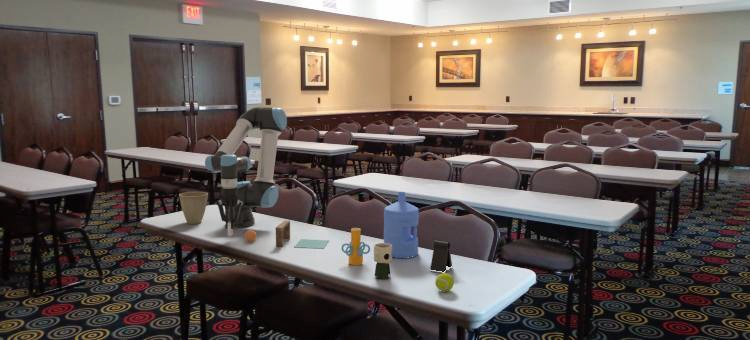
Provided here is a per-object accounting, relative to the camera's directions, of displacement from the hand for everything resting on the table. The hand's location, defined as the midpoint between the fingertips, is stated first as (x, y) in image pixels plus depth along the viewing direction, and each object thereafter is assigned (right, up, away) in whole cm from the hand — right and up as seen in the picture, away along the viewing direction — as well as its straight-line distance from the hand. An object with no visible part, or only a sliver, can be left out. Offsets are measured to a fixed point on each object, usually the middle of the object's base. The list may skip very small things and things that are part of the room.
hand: (230, 235), depth 270 cm
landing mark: (+40, -4, -4) cm, 40 cm away
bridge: (+26, -3, -2) cm, 26 cm away
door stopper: (+97, -10, -40) cm, 105 cm away
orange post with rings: (+62, -8, -33) cm, 70 cm away
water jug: (+81, -6, -18) cm, 84 cm away
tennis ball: (+95, -13, -65) cm, 116 cm away
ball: (+10, 0, -1) cm, 10 cm away
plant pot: (-29, +3, +37) cm, 47 cm away
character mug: (+73, -11, -50) cm, 89 cm away
